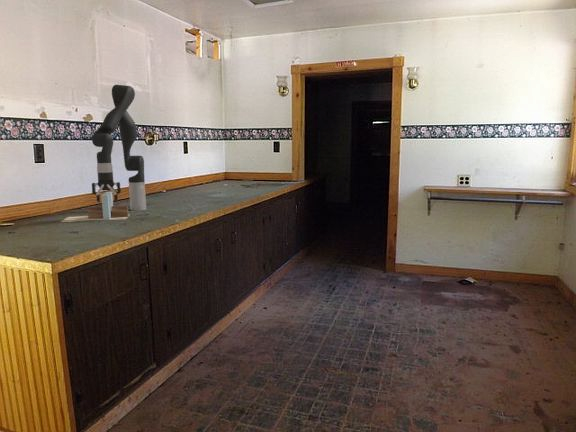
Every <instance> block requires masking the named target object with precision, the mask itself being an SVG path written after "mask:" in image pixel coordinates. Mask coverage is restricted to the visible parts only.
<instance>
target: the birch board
mask: <svg viewBox="0 0 576 432" xmlns="http://www.w3.org/2000/svg"><path fill="white" fill-rule="evenodd" d="M130 215H131V214H130V213H128V217H130ZM128 217H115V218H110V219H109V220H108V221H116V220H117V221H118V220H127V219H128ZM88 221H89V222H93V221H94V222H95V221H104V220H103V218H91V219H88V215H81V216H80V215H77V216H76V215H75V216H67V217H66V218H64V219H62V220H60V223H67V222H69V223H70V222H88Z"/></svg>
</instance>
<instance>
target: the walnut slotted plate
mask: <svg viewBox="0 0 576 432" xmlns="http://www.w3.org/2000/svg"><path fill="white" fill-rule="evenodd" d="M128 214H129V207H128V205H113V206H112V211H111V218H115V217H127V218H129V216H128ZM87 216H88V219H91V218H103V209H102V206H88V207H87Z"/></svg>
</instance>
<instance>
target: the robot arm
mask: <svg viewBox="0 0 576 432" xmlns="http://www.w3.org/2000/svg"><path fill="white" fill-rule="evenodd" d="M135 96H136V91H135V89H134V88H133V86H131V85H124V84H114V85H113V86H112V88H111V97H112V102H113V105H114V108H113V109H111V110H110V111H108V113H107V114H106V116H105V117H104V119H103V121H102V124H101V125H100V126H99V127H98V128H97V129H96V130H95V132H94V133H93V134H92V138H91V142H92V144H93V146H94V147H97V148H98V147H99V148H101V151H98V152H97V153H96V162H97V164H96V165H97V166H96V171H97V173H96V174H97V182H92V183H91V193H92V195H94V196H96V201H97V203H101V195H100V194H101V192H104V191H107V192H112V194H114V195H113V201H114V203H115V202H117V201H118V200H119V199H118V195H119V194H121V193H122V190H121V189H122V188H121V182H120V181H118V182H115V181H114V171H113V164H112V152H113V147H114V138H113V136H112V135H111V134H114V133H115V132H116V129H117V127H118V129H119V136H120V140H121V145H122V151H123V152H122V153H123V162H124V167H125V169H126V171H127V172H137V173H136V174H135V175H133V176H129V178H128V191H129V205H130V211H133V212H141V211H146V210H147V198H146V185H145V182H146V181H145V160H144V156H142V155H131V149H132V147H133V144H134V143H135V141H136V139H137V136H138V133H137V132H138V131H137V125H136V122H135V121H134V119H133V117H132V116H131V115H130V113H129V112H128V111H127V110H128V109H129V107H130V106H131V104H133V101H134V100H135ZM97 186H98V188H99V189H98V190H96V188H97ZM114 186H115V187H117V188H116V189H117V191H116V189H115V188H114Z"/></svg>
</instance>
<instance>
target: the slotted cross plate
mask: <svg viewBox="0 0 576 432" xmlns="http://www.w3.org/2000/svg"><path fill="white" fill-rule="evenodd" d="M100 198H101V205H102V209H103V220H102V221H110V220H109V219H110V218H111V211H112V206H114V197H113V192H112V191H107V192H104V193H103V194H101V195H100Z"/></svg>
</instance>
